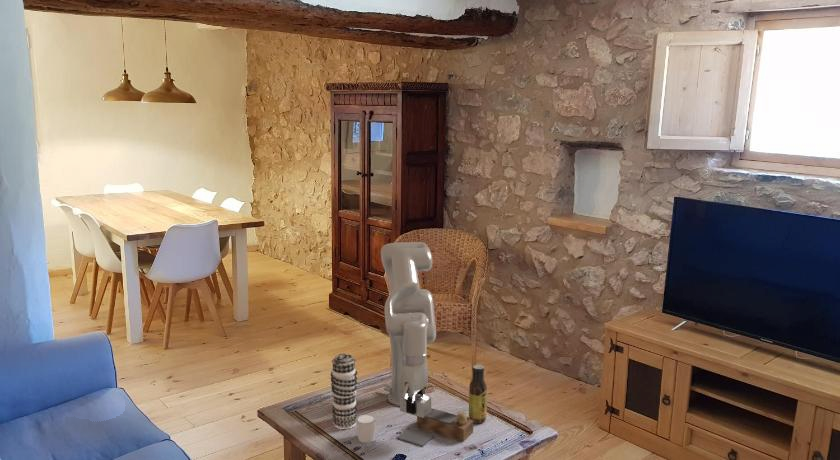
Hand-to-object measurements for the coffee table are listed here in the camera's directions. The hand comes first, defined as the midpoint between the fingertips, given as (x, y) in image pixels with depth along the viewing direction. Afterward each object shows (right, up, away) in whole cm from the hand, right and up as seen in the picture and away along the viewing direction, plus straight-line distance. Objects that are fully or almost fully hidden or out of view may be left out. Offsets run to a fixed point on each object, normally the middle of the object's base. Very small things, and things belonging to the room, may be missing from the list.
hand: (415, 409), depth 208 cm
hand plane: (+10, -9, +8) cm, 15 cm away
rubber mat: (0, -10, +3) cm, 11 cm away
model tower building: (-25, -9, +12) cm, 29 cm away
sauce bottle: (+22, -8, +14) cm, 27 cm away
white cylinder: (-16, -11, +3) cm, 20 cm away
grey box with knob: (0, -1, 0) cm, 1 cm away
